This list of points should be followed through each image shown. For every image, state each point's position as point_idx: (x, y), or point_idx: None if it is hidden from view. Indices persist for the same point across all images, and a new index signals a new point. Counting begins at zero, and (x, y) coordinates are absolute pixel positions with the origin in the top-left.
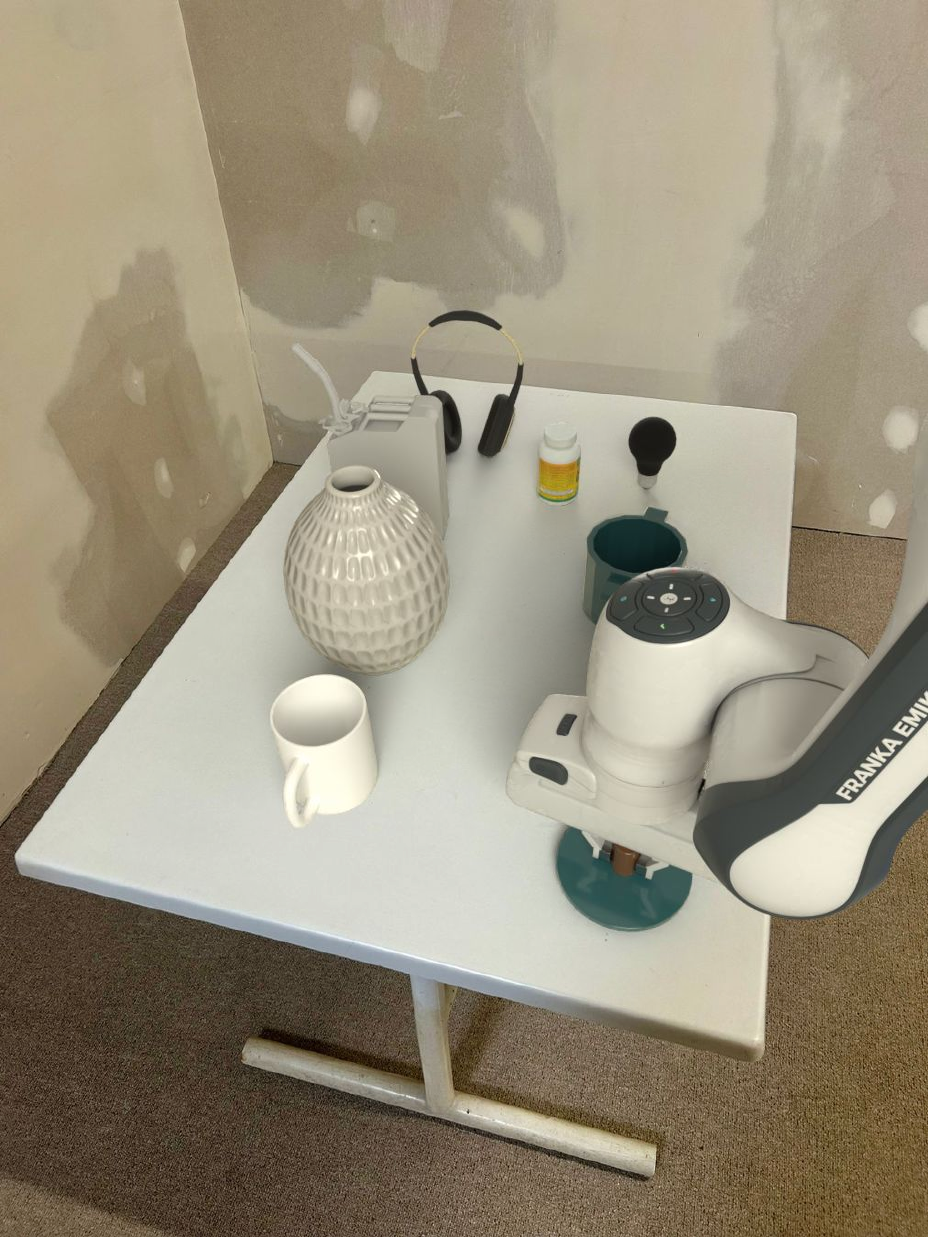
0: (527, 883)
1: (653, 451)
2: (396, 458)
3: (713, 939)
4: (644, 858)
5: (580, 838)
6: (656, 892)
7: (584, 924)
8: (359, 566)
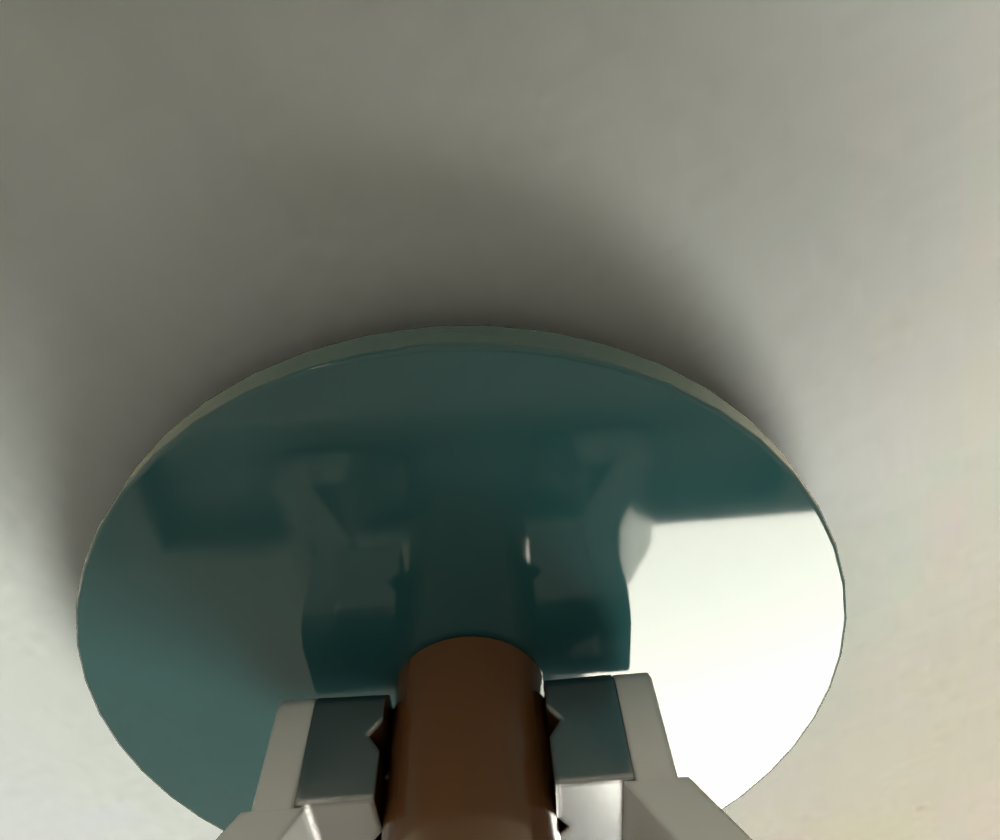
0: (135, 810)
1: None
2: None
3: (943, 686)
4: (597, 835)
5: (176, 668)
6: (678, 725)
7: None
8: None
